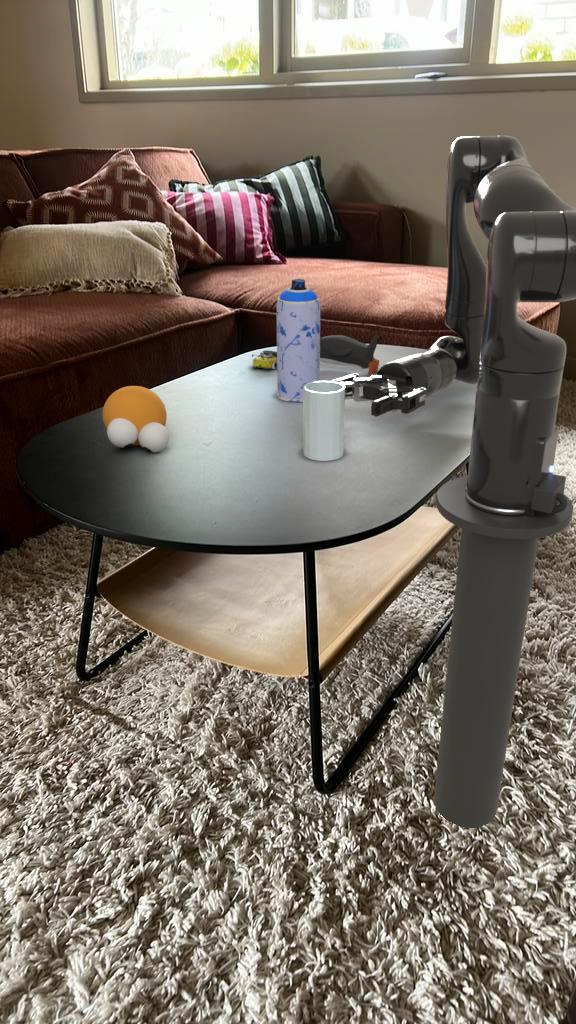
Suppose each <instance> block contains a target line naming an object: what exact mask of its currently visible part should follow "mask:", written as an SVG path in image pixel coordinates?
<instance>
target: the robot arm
mask: <svg viewBox="0 0 576 1024" xmlns="http://www.w3.org/2000/svg"><path fill="white" fill-rule="evenodd" d="M468 204H473V211H474V215H475V219H476V221H477V223H478V226H479V227H480V230H481V232H482V233H483V234H484V236H485V237H486V238H487V240H488V245H487V254H486V262H485V260H484V257H483V256H482V254H481V252H480V251H479V249H478V247H477V244H476V243H475V241H474V238H473V235H472V234H471V231H470V228H469V225H468V224H469V223H468V221H467V219H468V218H467V205H468ZM445 219H446V220H445V223H446V224H445V225H446V228H445V229H446V230H445V231H446V254H447V255H446V257H447V277H446V278H447V279H446V291H445V300H444V313H443V321H444V324H445V326H446V327H447V328H448V329H450V330H451V331H452V332H454V333H456V334H457V335H458V336H459V337H458V336H455V335H444V336H440V337H439V338H438V339H436V340H435V341H434V342H433V343H432V345H430V347H429V348H428V349H427V350H424V351H421V352H419V353H412V354H407V355H406V356H403V357H400V358H397V359H395V360H391V361H389V362H387V363H384V364H383V365H381V367H379V368H378V370H377V372H376V373H375V375H369V377H360V374H359V373H357V372H353V373H350V374H347V375H344V376H341V377H338V378H334V379H331V381H332V382H338V383H341V384H343V385H344V386H345V401H346V400H353V401H354V402H355V403H359V402H371V406H370V408H371V409H370V415H371V416H372V417H376V418H377V417H379V416H381V415H384V414H386V413H389V412H390V413H397V411H398V410H399V411H400V412H401V413H402V414H405V415H406V414H409V413H412V412H413V411H415V410H418V409H419V408H421V407H423V406H425V405H426V398H429V397H430V396H431V395H433V394H435V393H437V392H439V391H441V390H444V389H445V388H448V387H449V386H450V385H451V384H453V382H454V381H455V380H456V381H459V382H461V383H465V384H468V385H476V391H475V401H474V409H473V410H474V411H473V418H472V419H473V421H472V429H471V431H472V432H471V441H470V452H469V459H468V469H467V476H468V479H467V487H466V490H465V499H466V501H467V502H468V503H469V504H470V505H471V506H473V507H474V508H476V509H478V510H481V511H484V512H487V513H490V514H495V515H501V516H527V517H532V518H533V517H535V516H536V515H537V513H538V512H539V511H540V512H545V513H549V514H550V513H551V514H552V515H553V514H556V513H559V512H562V511H564V510H565V509H566V507H567V500H566V498H565V497H564V496H563V494H565V488H566V482H567V476H566V475H565V476H564V475H561V474H560V475H558V474H555V473H553V472H554V468H555V466H554V465H555V458H556V451H557V445H558V439H559V434H560V432H559V431H560V428H559V426H557V425H556V421H557V416H558V415H557V414H558V407H559V400H560V394H561V388H562V382H563V374H564V367H565V363H566V358H567V357H566V356H567V343H566V341H565V340H564V339H563V338H562V337H561V336H559V335H557V334H555V333H554V332H550V331H548V330H545V329H541V328H539V327H536V326H534V325H533V324H530V323H529V322H527V321H525V320H524V319H523V318H522V317H520V316H519V315H518V303H565V302H569V301H574V300H576V207H573V206H572V205H570V204H568V203H567V202H565V201H563V200H562V199H561V197H560V196H558V195H557V193H555V192H554V190H552V189H551V188H550V187H549V185H548V183H547V182H546V180H544V179H543V177H542V176H541V175H540V174H539V173H538V172H537V171H536V170H535V169H534V168H533V166H531V164H530V162H529V160H528V156H527V155H526V152H525V150H524V148H523V145H522V143H521V142H520V141H519V140H518V139H517V138H516V137H514V136H509V135H478V136H477V135H475V136H460V137H457V138H456V139H455V140H454V141H453V142H452V143H451V146H450V148H449V153H448V157H447V163H446V173H445ZM360 388H362V395H360V394H359V393H360ZM559 502H560V504H559V505H557V504H558V503H559ZM556 505H557V506H556Z"/></svg>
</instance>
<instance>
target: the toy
mask: <svg viewBox="0 0 576 1024" xmlns="http://www.w3.org/2000/svg"><path fill="white" fill-rule="evenodd" d="M167 416H168V415H167V409H166V405H165V403H164V402H163V400H162V399H161V398H160V396H159V395H158V394H157V393H155V391H152V390H151V389H149V388H147V387H144V386H140V385H128V386H123V387H121V388H119V389H117V390H115V391H113V392H112V393H111V394H110V395H109V396H108V397H107V399H106V401H105V403H104V405H103V408H102V422H103V425H104V427H105V429H106V435H107V439H108V440H109V442H110V443H111V444H112V445H114V446H115V447H117V448H123V449H125V448H129V447H131V446H140V447H141V448H142V449H144V450H145V451H146V452H149V453H158V452H161V451H163V450H164V449H165V448H166V447H167V445H168V443H169V440H170V436H169V435H170V434H169V431H168V430H167V427H166V424H167V419H168V418H167Z"/></svg>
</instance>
